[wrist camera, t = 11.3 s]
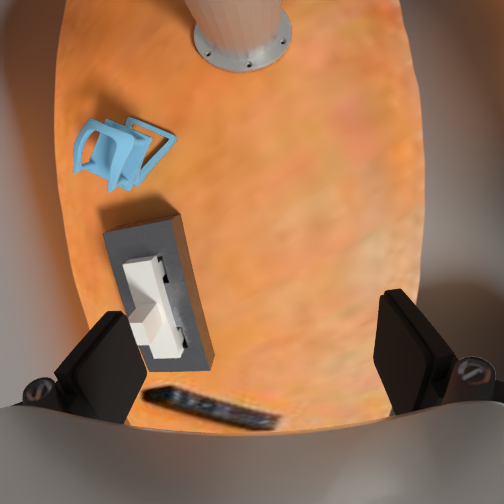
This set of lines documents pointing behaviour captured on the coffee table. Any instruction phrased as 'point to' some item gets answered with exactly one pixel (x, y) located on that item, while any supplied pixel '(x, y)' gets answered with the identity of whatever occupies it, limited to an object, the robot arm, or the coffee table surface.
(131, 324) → the white stepped block
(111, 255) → the slotted plate
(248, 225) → the coffee table surface
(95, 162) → the chair
